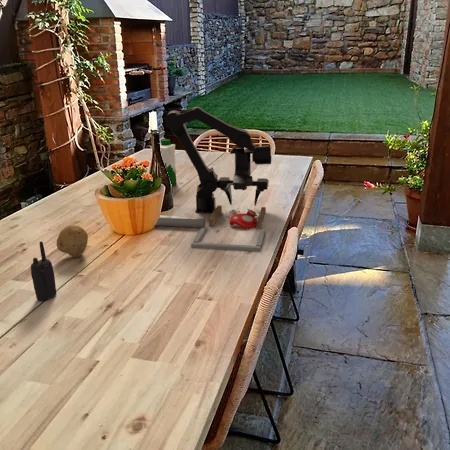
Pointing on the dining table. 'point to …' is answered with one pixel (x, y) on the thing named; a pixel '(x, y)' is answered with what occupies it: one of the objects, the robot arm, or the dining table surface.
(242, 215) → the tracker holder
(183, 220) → the bar
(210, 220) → the stall
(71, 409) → the dining table surface
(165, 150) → the milk carton
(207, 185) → the robot arm
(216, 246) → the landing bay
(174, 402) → the dining table surface
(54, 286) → the two-way radio
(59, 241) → the potato
